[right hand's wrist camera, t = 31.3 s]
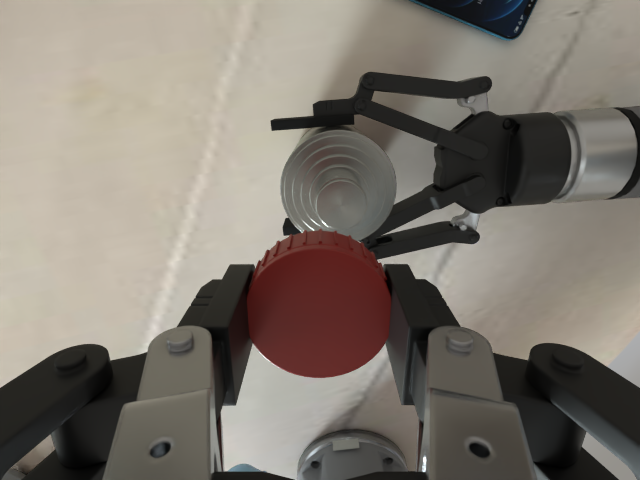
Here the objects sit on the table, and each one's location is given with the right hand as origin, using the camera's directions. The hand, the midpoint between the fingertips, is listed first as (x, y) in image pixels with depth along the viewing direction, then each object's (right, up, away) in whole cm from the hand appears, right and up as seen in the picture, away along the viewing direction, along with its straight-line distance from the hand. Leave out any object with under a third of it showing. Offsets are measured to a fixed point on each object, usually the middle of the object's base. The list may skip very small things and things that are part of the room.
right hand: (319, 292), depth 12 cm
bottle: (+1, +9, +27) cm, 28 cm away
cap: (0, 0, -1) cm, 1 cm away
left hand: (-4, +7, +21) cm, 22 cm away
